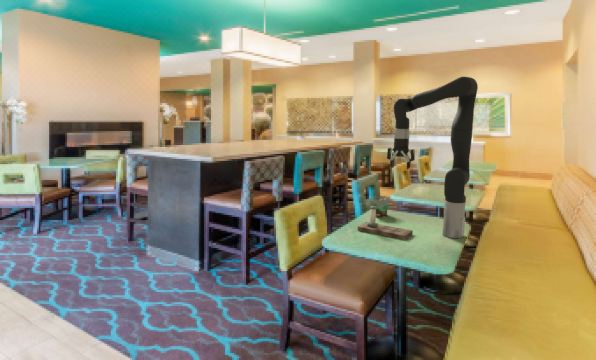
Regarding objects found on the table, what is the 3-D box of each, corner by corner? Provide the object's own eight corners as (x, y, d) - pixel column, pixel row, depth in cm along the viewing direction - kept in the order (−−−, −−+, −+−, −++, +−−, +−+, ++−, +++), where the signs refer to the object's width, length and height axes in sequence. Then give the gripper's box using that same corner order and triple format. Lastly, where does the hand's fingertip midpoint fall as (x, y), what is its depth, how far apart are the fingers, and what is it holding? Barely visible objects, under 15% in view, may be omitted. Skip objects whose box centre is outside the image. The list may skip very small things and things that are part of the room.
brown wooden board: (412, 234, 187) (412, 230, 186) (405, 239, 179) (405, 235, 178) (365, 225, 201) (366, 221, 200) (357, 230, 193) (357, 226, 192)
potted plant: (383, 218, 214) (384, 201, 212) (373, 217, 217) (374, 200, 216) (392, 214, 223) (393, 197, 222) (382, 212, 227) (383, 196, 225)
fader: (377, 225, 193) (378, 206, 192) (374, 227, 190) (375, 208, 188) (370, 223, 196) (371, 205, 194) (367, 225, 192) (368, 207, 191)
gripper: (385, 137, 199) (384, 167, 202) (412, 138, 191) (410, 170, 194) (391, 136, 205) (389, 166, 208) (417, 137, 197) (415, 168, 200)
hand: (400, 168), depth 201 cm, fingers open, 8 cm apart
